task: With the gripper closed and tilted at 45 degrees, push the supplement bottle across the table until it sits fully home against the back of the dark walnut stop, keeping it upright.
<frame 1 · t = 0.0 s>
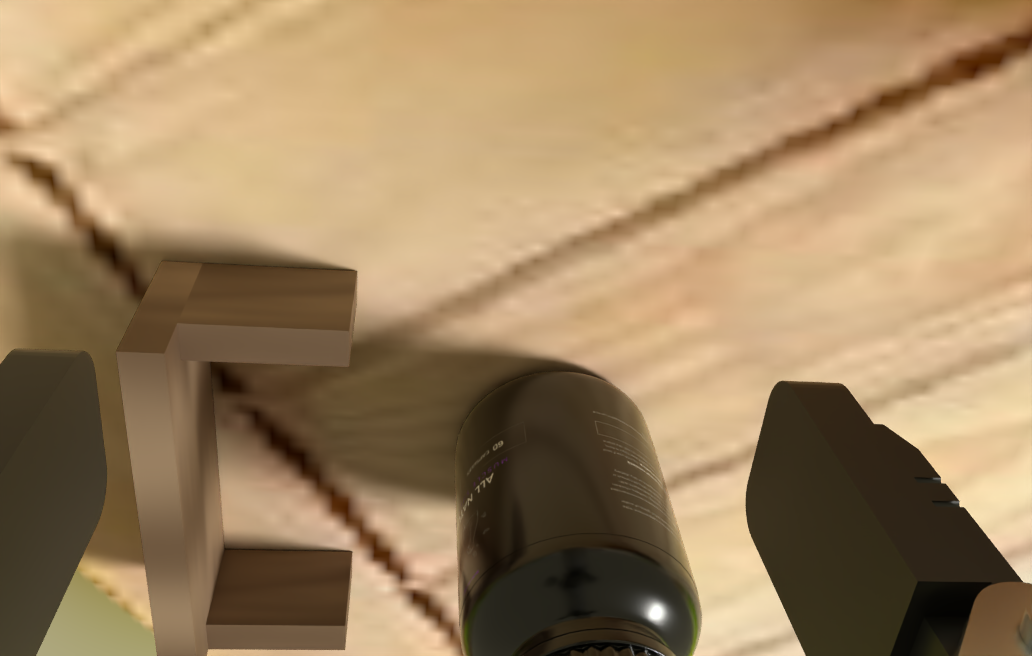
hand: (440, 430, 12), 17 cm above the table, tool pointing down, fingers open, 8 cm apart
supplement bottle: (549, 440, 34), on the table
walnut stop: (288, 436, 33), on the table
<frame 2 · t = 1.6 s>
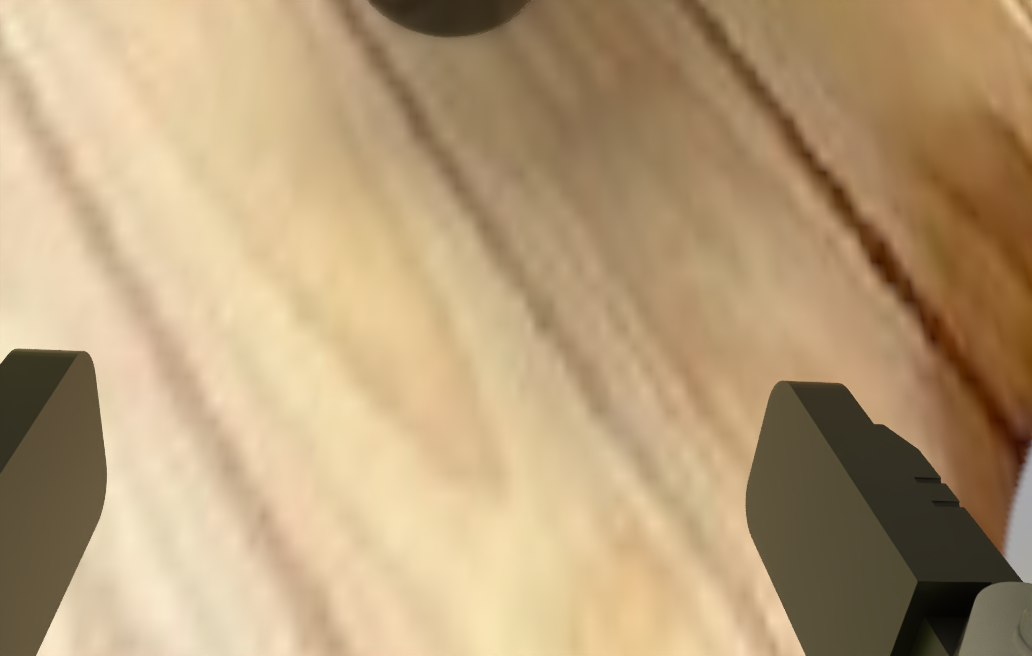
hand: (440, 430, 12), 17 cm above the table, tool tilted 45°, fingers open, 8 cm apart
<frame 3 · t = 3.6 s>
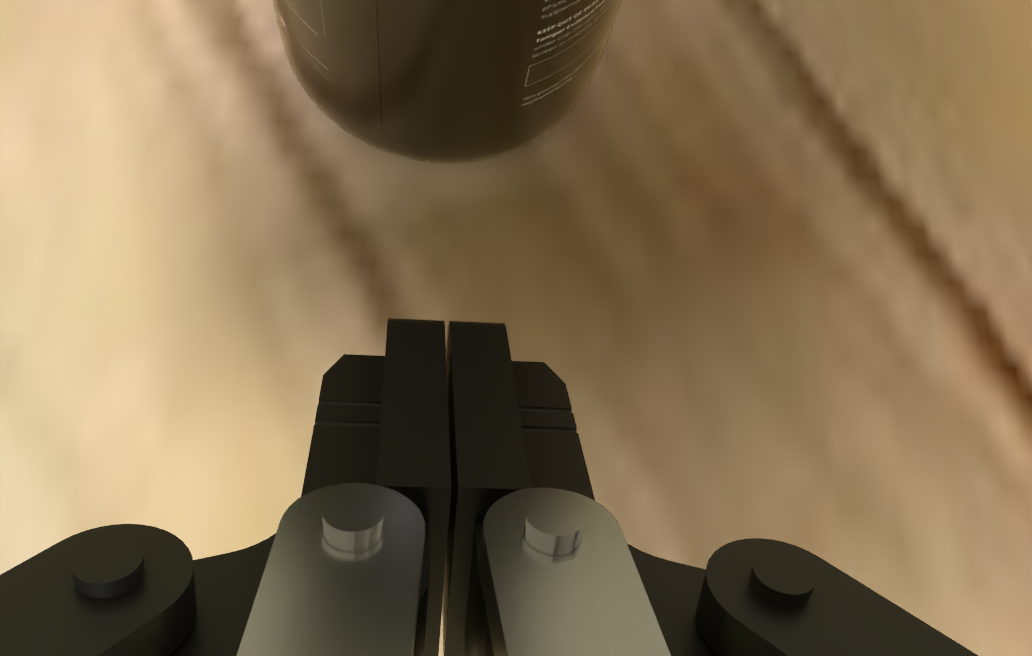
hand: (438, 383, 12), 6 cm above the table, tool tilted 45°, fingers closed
supplement bottle: (439, 36, 21), on the table
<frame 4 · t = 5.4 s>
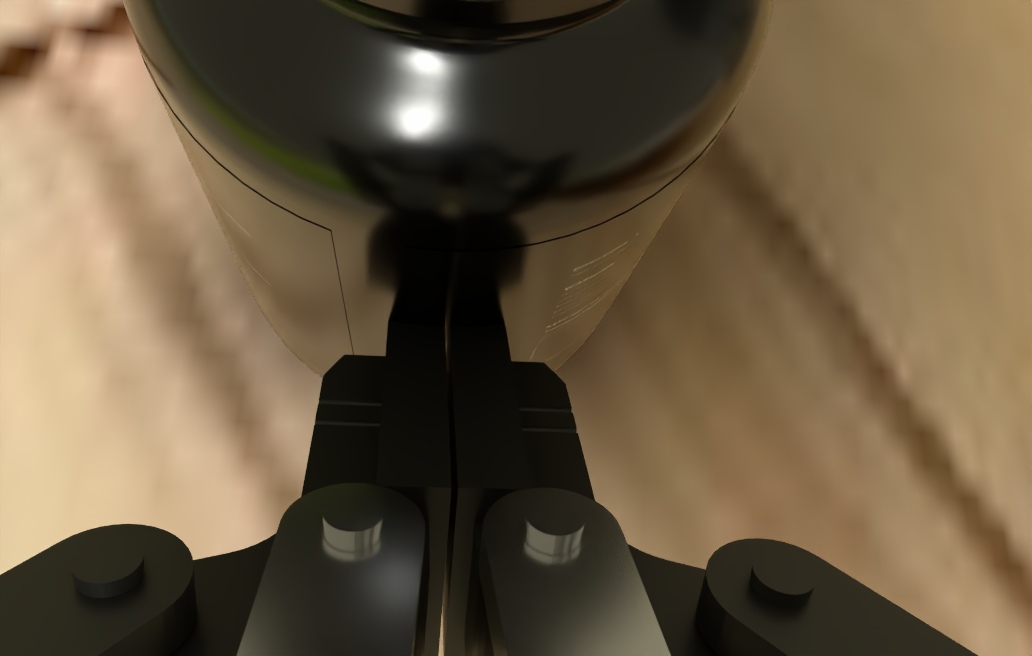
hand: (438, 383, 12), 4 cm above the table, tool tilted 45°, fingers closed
supplement bottle: (430, 242, 18), on the table, touching gripper
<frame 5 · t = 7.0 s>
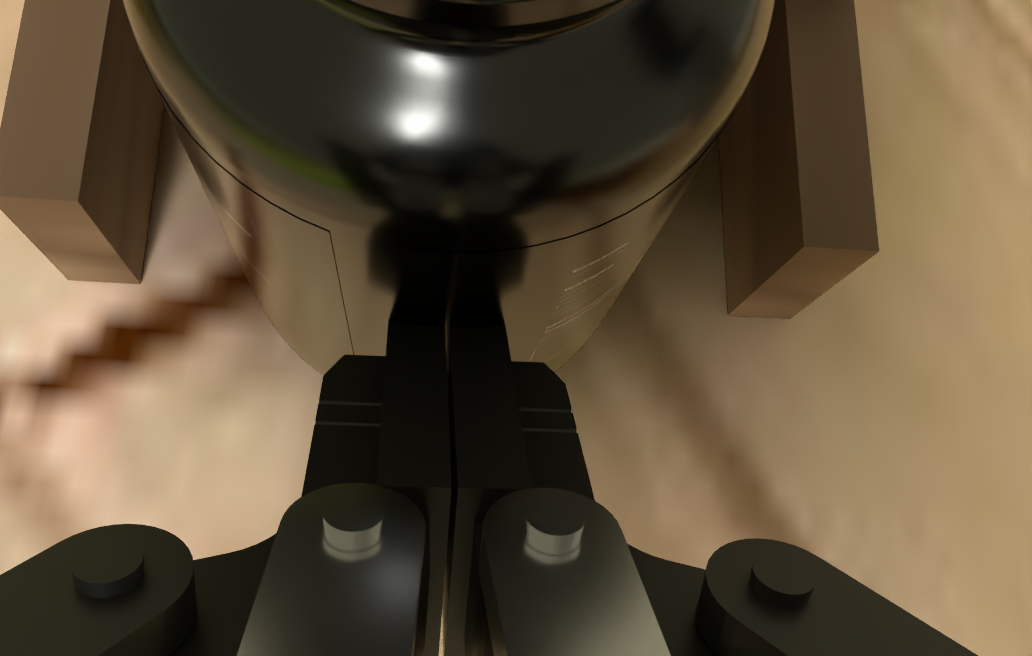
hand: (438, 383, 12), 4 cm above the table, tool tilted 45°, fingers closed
supplement bottle: (431, 240, 18), on the table, touching gripper, walnut stop
walnut stop: (448, 188, 18), on the table
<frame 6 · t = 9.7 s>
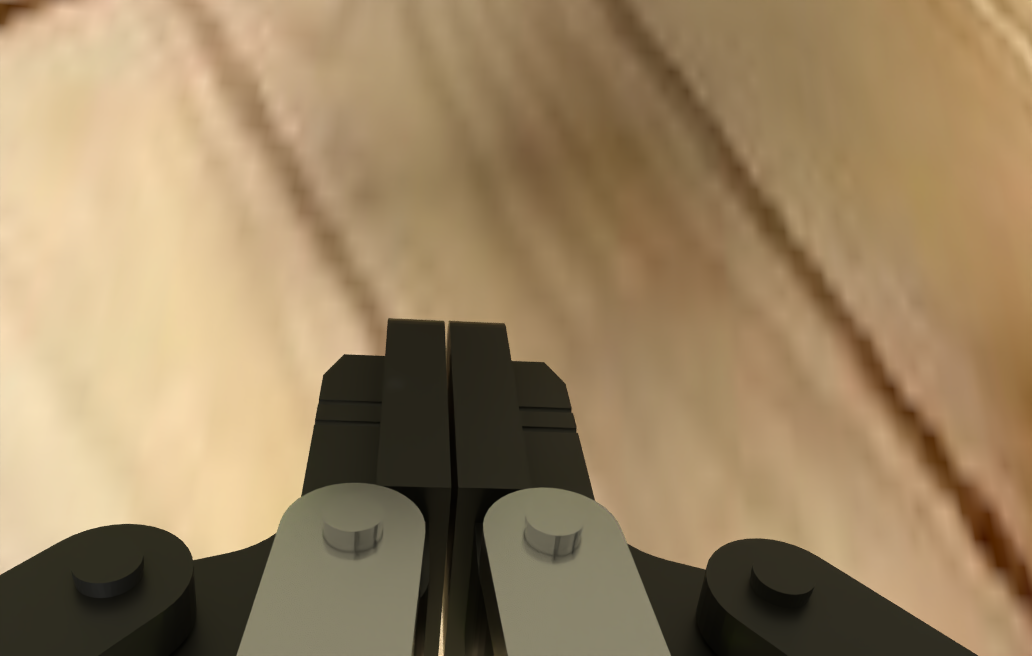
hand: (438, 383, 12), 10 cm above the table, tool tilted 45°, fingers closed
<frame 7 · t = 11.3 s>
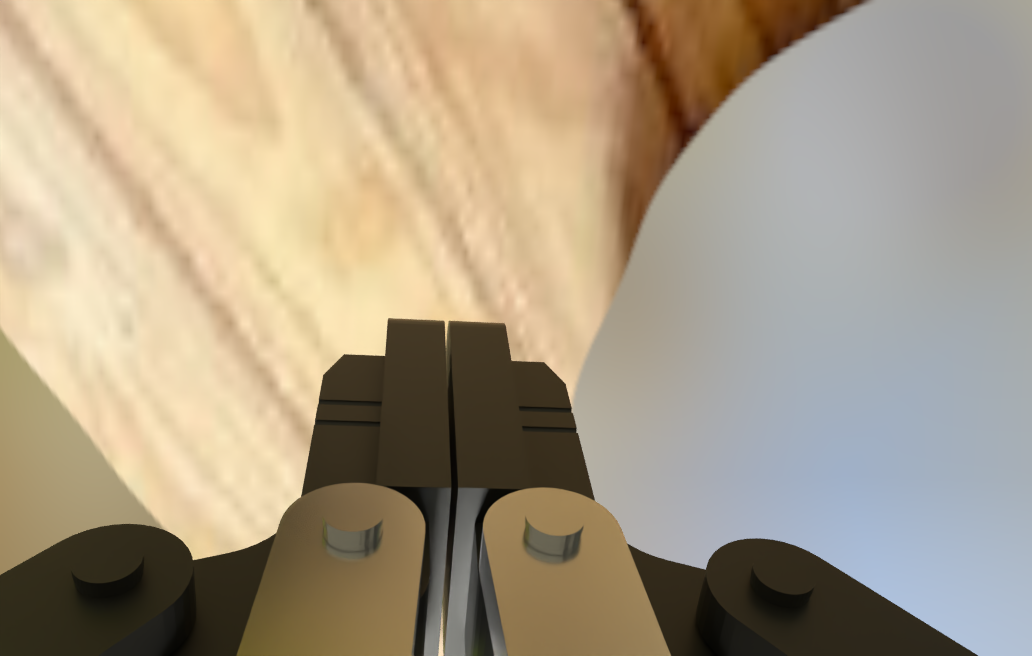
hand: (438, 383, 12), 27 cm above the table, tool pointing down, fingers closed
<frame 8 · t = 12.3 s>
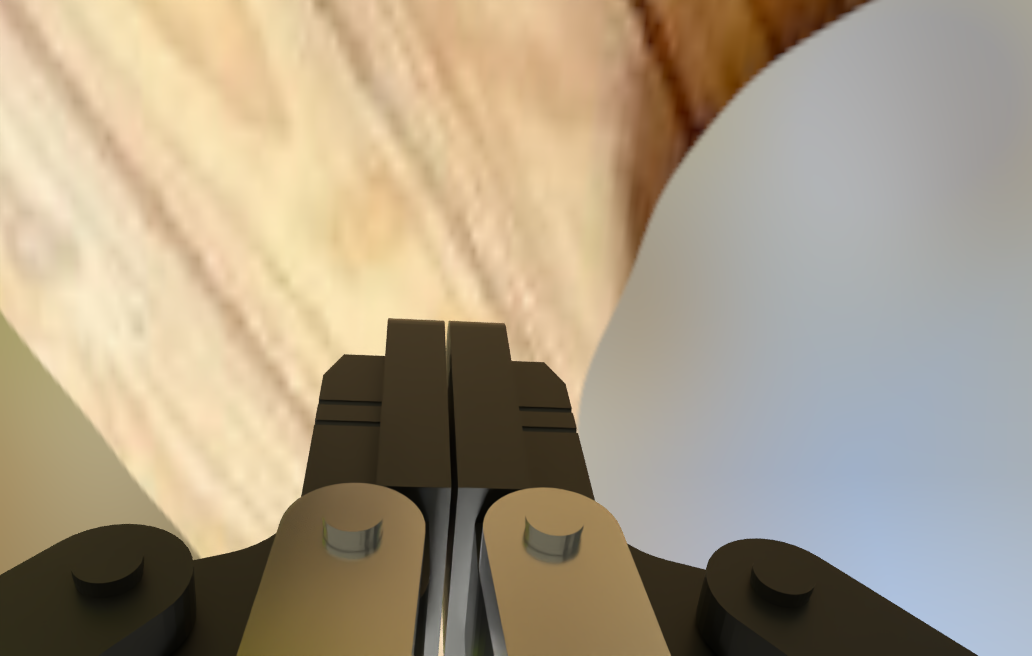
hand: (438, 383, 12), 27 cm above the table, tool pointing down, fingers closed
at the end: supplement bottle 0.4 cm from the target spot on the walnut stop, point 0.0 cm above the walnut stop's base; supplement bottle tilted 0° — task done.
